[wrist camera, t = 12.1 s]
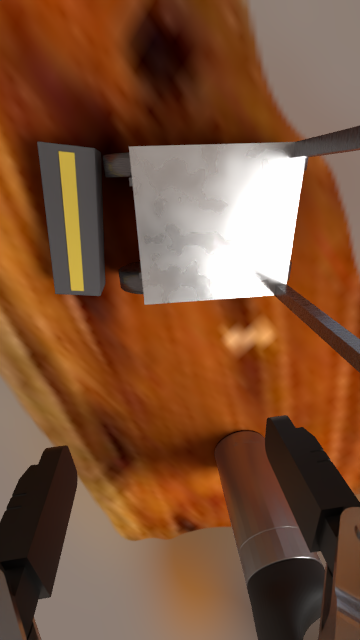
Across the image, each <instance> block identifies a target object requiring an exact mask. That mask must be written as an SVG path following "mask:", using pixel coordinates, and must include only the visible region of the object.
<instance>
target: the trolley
mask: <svg viewBox="0 0 360 640" xmlns="http://www.w3.org/2000/svg"><path fill="white" fill-rule="evenodd" d="M356 150H360V126H357V127H353V128H349V129H345V130H341V131H337V132H333V133H329V134H325V135H321V136H317V137H313V138H309V139H305V140H301V141H297V142H279V143H242V144H205V145H168V146H131V147H129V153H115V154H107V155H103V163H104V170H105V177H106V178H112V177H132V178H129V183H130V186H133V193H134V203H135V213H136V223H137V233H138V243H139V253H140V262H135V263H131V264H128V265H125V266H123V267H121V268H120V269H119V277H120V285H121V288H122V289H123V290H124V291H127V292H130V293H135V294H144V303H145V305H146V304H160V303H173V302H187V301H201V300H214V299H228V298H241V297H255V296H269V295H275V296H276V297H277V298H278V299H279V300H280V301H281V302H282V303H283V304H285V305H286V306H287V307H288V308H289V309H290V310H291V311H292V312H293V313H294V314H296V315H297V316H298V317H299V318H300V319H301V320H302V321H303V322H304V323H306V324H307V325H308V326H309V327H310V328H311V329H312V330H313V331H314V332H315V333H317V334H318V335H319V336H320V337H321V338H322V339H323V340H324V341H325V342H326V343H328V344H329V345H330V346H331V347H332V348H333V349H334V350H335V351H336V352H337V353H339V354H340V355H341V356H342V357H343V358H344V359H345V360H346V361H347V362H348V363H350V364H351V365H352V366H353V367H354V368H355V369H356V370H357V371H358V372H360V339H358V338H357V337H356V336H354V335H353V334H352V333H350V332H349V331H348V330H346V329H345V328H344V327H342V326H341V325H340V324H338V323H337V322H336V321H334V320H333V319H332V318H330V317H329V316H328V315H326V314H325V313H324V312H322V311H321V310H320V309H318V308H317V307H316V306H314V305H313V304H312V303H310V302H309V301H308V300H306V299H305V298H304V297H303V296H301V295H300V294H299V293H297V292H296V291H295V290H293V289H292V288H291V287H289V286H288V285H287V284H286V282H287V281H288V280H289V277H290V271H291V264H292V263H291V261H290V256H291V249H292V243H293V236H294V230H295V223H296V217H297V210H298V204H299V197H300V191H301V184H302V178H303V171H304V170H306V169H307V163H308V157H313V156H321V155H328V154H335V153H343V152H350V151H356Z"/></svg>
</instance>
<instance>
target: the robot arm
mask: <svg viewBox="0 0 360 640" xmlns="http://www.w3.org/2000/svg"><path fill="white" fill-rule="evenodd" d="M215 459H216V463H217V467H218V471H219V476H220V480H221V484H222V488H223V492H224V496H225V500H226V505H227V509H228V513H229V517H230V521H231V525H232V529H233V533H234V537H235V541H236V545H237V549H238V553H239V557H240V561H241V565H242V569H243V573H244V577H245V581H246V585H247V589H248V594H249V598H250V602H251V606H252V612H253V617H254V622H255V627H256V632H257V636H258V640H303V637H304V635H305V632H306V631H307V629H308V628H309V627H310V625H311V624H312V623H314V622H315V621H316V620H317V619H319V618H320V627H319V636H318V640H360V502H359V501H358V499H357V498H356V496H355V495H354V493H353V492H352V490H351V489H350V488H349V486H348V485H347V483H346V482H345V480H344V479H343V477H342V476H341V474H340V473H339V471H338V470H337V469H336V467H335V466H334V464H333V463H332V462H331V461H330V458H329V457H328V455H327V454H326V453H325V452H324V451H323V448H322V447H321V445H320V444H319V442H318V441H317V439H316V438H315V437H314V436H313V435H312V434H311V433H309V432H308V431H307V430H306V429H304V428H303V427H300V428H295V426H294V425H293V423H292V422H291V420H290V419H289V417H288V416H286V415H284V416H277V417H270V418H268V419H267V424H266V435H265V438H264V437H263V436H262V435H260V434H259V433H256V432H252V431H241V432H236V433H234V434H231V435H229V436H227V437H225V438H224V439H223V440H221V441H220V442H219V443H218V445H217V447H216V449H215ZM76 488H77V470H76V467H75V465H74V462H73V459H72V456H71V453H70V450H69V448H68V446H66V445H65V446H58V447H51V448H46V449H45V450H44V452H43V454H42V456H41V459H40V462H39V464H38V465H31V466H30V467H29V468H28V469H27V471H26V472H25V473H24V474H23V475H22V477H21V478H20V479H19V481H18V483H17V485H16V488H15V490H14V493H13V495H12V498H11V499H10V501H9V504H8V506H7V510H6V511H5V513H4V515H3V517H2V519H1V522H0V640H41V637H40V634H39V631H38V628H37V625H36V622H35V619H34V614H35V610H36V606H37V602H38V599H42V598H49V597H51V594H52V589H53V585H54V581H55V577H56V572H57V568H58V564H59V559H60V556H61V552H62V547H63V543H64V539H65V535H66V530H67V526H68V522H69V518H70V513H71V509H72V505H73V501H74V497H75V492H76ZM317 551H321V552H322V554H323V556H324V558H325V561H326V567H325V569H324V567H323V565H322V563H321V561H320V558H319V556H318V554H317Z"/></svg>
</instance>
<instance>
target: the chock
mask: <svg viewBox="0 0 360 640" xmlns="http://www.w3.org/2000/svg"><path fill="white" fill-rule="evenodd" d="M37 144H38V152H39V160H40V169H41V177H42V186H43V194H44V202H45V211H46V219H47V227H48V236H49V244H50V252H51V261H52V269H53V278H54V286H55V294H70V295H93V296H101V293H102V290H103V288H104V285H105V262H104V231H103V199H102V168H101V152H100V151H98V150H97V149H95V148H88V147H80V146H71V145H63V144H54V143H45V142H37Z"/></svg>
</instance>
